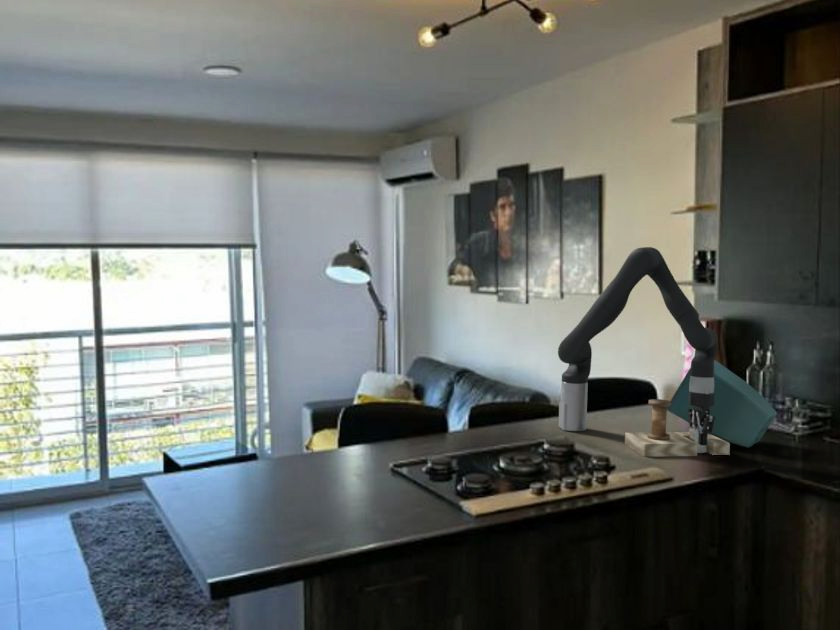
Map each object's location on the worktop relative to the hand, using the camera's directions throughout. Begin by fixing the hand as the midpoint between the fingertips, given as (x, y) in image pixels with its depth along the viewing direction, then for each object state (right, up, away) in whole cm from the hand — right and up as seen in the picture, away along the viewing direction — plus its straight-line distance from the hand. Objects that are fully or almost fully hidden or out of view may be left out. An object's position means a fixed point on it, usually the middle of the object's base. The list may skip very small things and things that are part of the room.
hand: (700, 443), depth 241 cm
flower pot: (+23, +3, +6) cm, 24 cm away
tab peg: (0, -3, 0) cm, 3 cm away
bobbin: (-13, +1, +2) cm, 13 cm away
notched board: (-7, -3, +3) cm, 8 cm away
